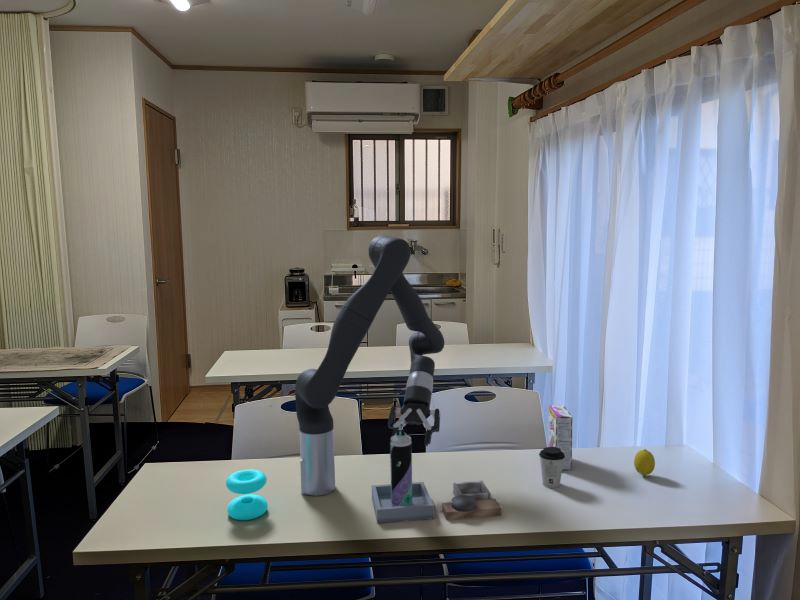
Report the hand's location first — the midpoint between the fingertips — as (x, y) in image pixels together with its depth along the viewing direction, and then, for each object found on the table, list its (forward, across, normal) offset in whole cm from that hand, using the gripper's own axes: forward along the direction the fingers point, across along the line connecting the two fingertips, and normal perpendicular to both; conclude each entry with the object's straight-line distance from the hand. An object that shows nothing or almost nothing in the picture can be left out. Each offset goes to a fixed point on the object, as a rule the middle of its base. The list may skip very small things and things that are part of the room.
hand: (410, 443), depth 170 cm
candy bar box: (-10, +39, +29) cm, 50 cm away
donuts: (+25, -38, -6) cm, 45 cm away
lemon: (-7, +63, +26) cm, 68 cm away
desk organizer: (+13, +16, +5) cm, 22 cm away
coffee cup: (+1, +37, +18) cm, 41 cm away
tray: (+17, 0, +2) cm, 17 cm away
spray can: (+16, 0, +1) cm, 16 cm away
